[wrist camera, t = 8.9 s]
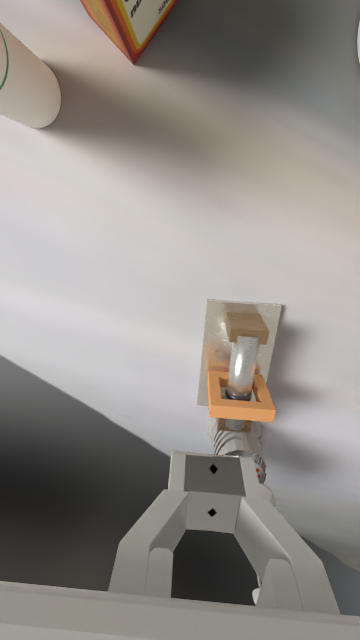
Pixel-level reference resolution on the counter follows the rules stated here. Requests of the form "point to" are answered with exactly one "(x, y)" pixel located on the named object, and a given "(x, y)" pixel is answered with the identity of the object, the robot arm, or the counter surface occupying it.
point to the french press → (243, 446)
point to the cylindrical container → (26, 84)
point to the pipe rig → (237, 351)
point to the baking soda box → (129, 21)
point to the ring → (238, 408)
